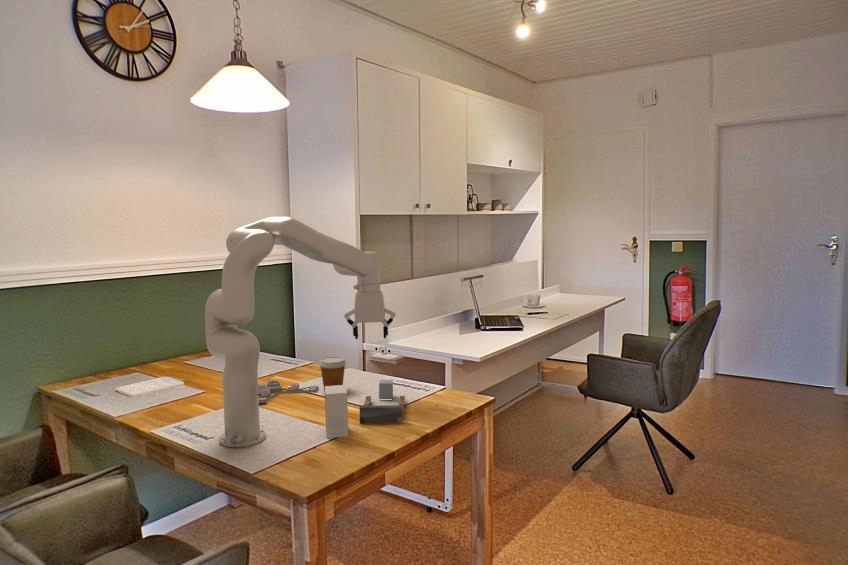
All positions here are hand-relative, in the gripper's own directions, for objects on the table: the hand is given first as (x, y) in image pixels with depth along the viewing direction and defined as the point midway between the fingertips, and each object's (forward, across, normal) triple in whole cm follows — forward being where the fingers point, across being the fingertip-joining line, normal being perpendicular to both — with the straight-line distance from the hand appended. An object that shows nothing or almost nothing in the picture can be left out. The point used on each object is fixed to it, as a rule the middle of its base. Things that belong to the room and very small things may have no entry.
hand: (370, 337), depth 198 cm
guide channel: (+22, +4, -13) cm, 26 cm away
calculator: (+21, -84, +16) cm, 88 cm away
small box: (+21, -8, -30) cm, 38 cm away
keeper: (+22, +4, +1) cm, 22 cm away
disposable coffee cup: (+22, -15, +9) cm, 28 cm away
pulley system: (+22, -34, +8) cm, 41 cm away
